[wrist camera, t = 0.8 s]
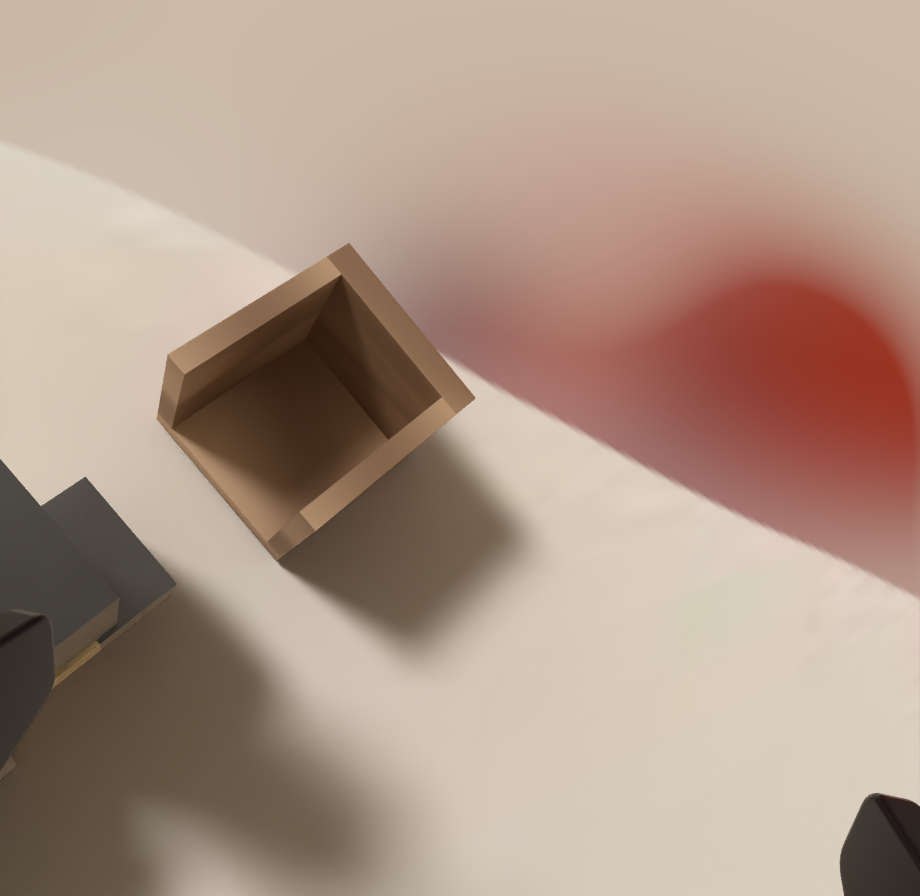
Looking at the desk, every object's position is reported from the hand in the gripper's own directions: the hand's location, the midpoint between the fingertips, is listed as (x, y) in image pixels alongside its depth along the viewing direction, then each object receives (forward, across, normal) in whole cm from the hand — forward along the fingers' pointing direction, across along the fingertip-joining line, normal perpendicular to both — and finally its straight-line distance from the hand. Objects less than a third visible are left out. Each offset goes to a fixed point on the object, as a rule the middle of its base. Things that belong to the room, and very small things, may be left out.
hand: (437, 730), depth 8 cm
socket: (+15, +7, +4) cm, 17 cm away
